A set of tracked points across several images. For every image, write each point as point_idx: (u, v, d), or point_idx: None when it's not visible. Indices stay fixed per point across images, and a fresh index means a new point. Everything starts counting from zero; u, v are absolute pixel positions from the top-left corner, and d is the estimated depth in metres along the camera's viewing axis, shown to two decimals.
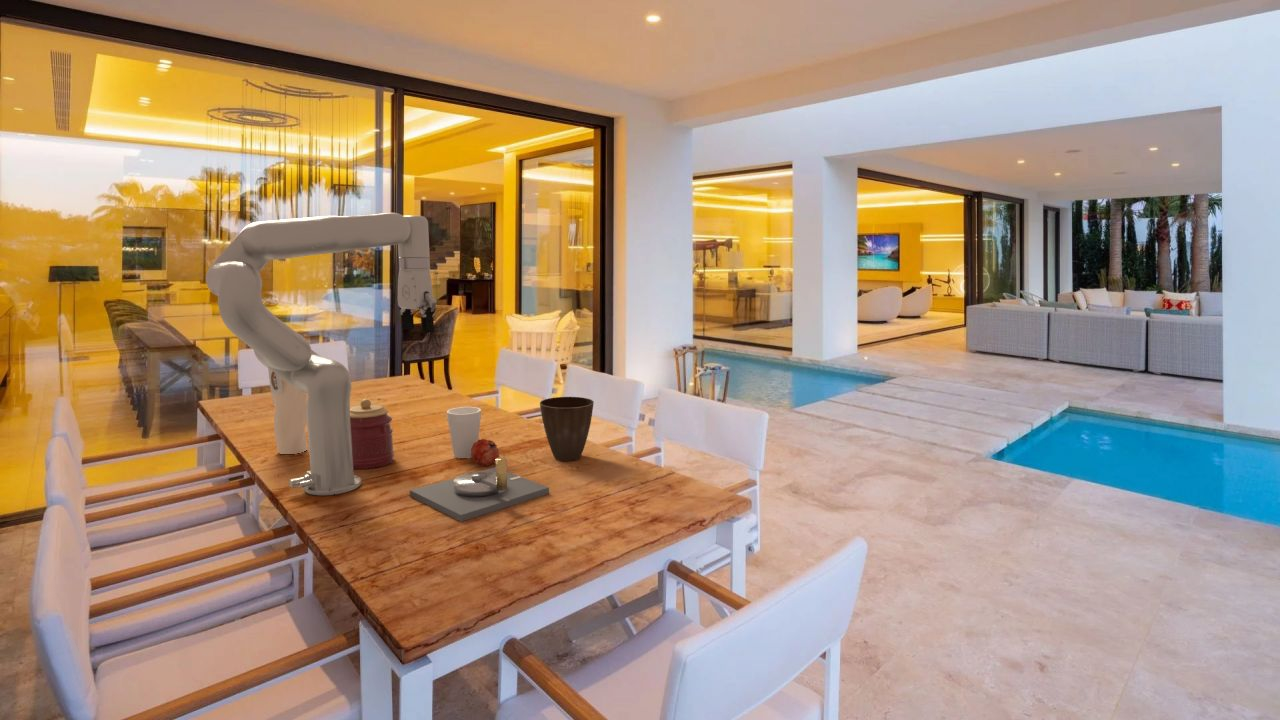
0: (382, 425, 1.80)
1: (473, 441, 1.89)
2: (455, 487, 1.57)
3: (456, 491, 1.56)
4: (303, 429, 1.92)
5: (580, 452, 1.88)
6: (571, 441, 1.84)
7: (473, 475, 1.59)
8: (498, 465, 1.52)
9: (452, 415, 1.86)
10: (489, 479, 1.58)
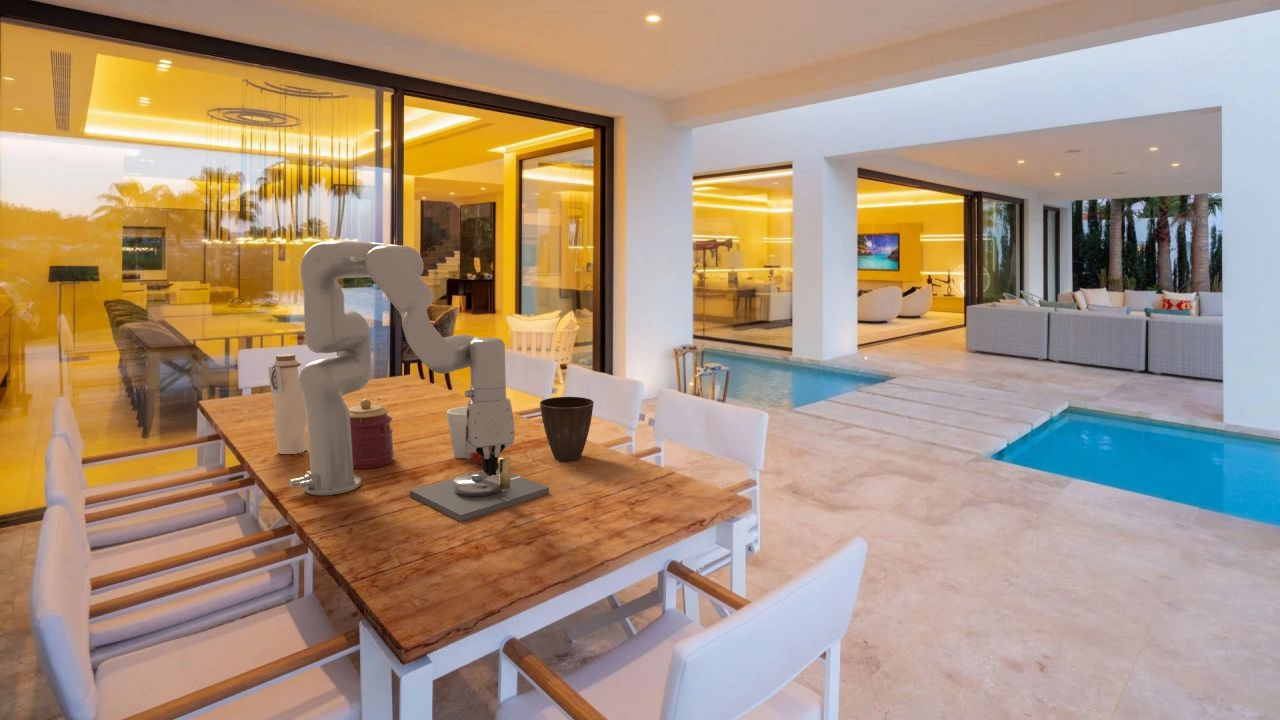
0: (382, 425, 1.80)
1: None
2: (456, 488, 1.56)
3: (457, 492, 1.56)
4: (303, 429, 1.92)
5: (580, 452, 1.88)
6: (571, 441, 1.84)
7: (473, 475, 1.59)
8: (502, 464, 1.52)
9: (452, 415, 1.86)
10: (490, 478, 1.58)
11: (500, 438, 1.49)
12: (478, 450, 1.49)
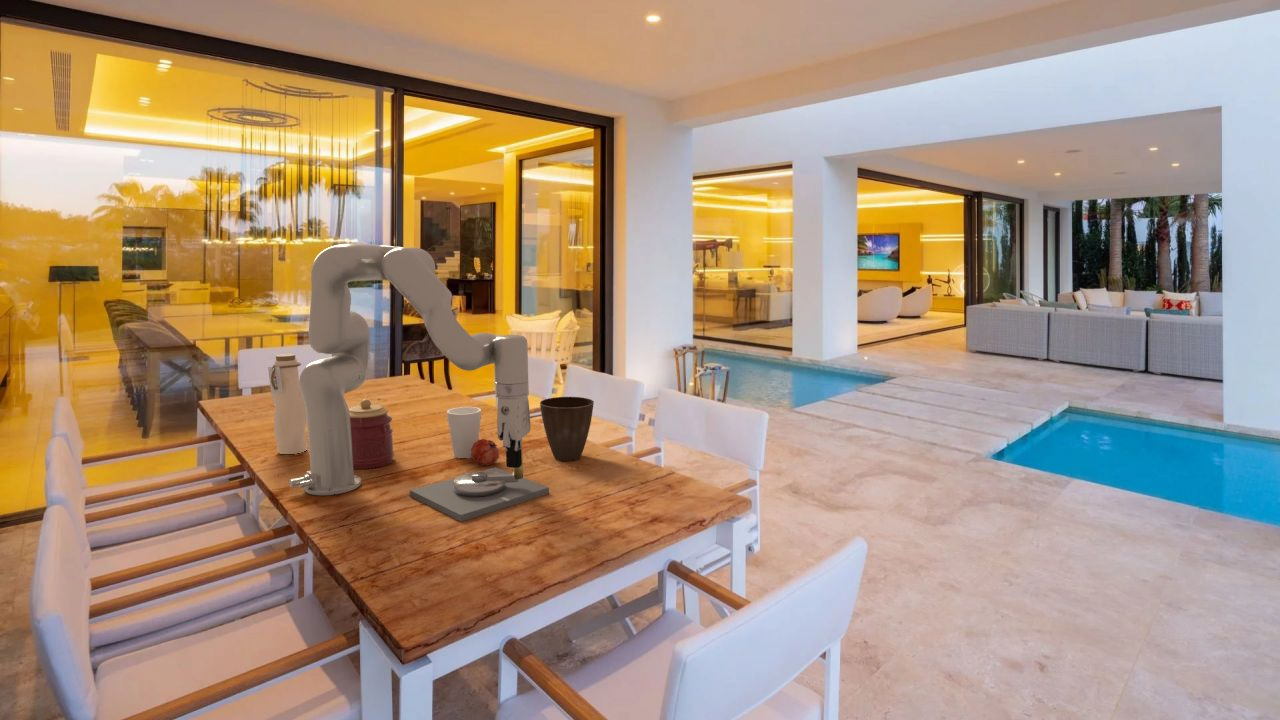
0: (382, 425, 1.80)
1: (473, 441, 1.89)
2: (473, 491, 1.54)
3: (475, 494, 1.54)
4: (303, 429, 1.92)
5: (580, 452, 1.88)
6: (571, 440, 1.84)
7: (477, 476, 1.58)
8: None
9: (452, 415, 1.86)
10: (494, 475, 1.61)
11: (526, 429, 1.57)
12: (512, 444, 1.53)
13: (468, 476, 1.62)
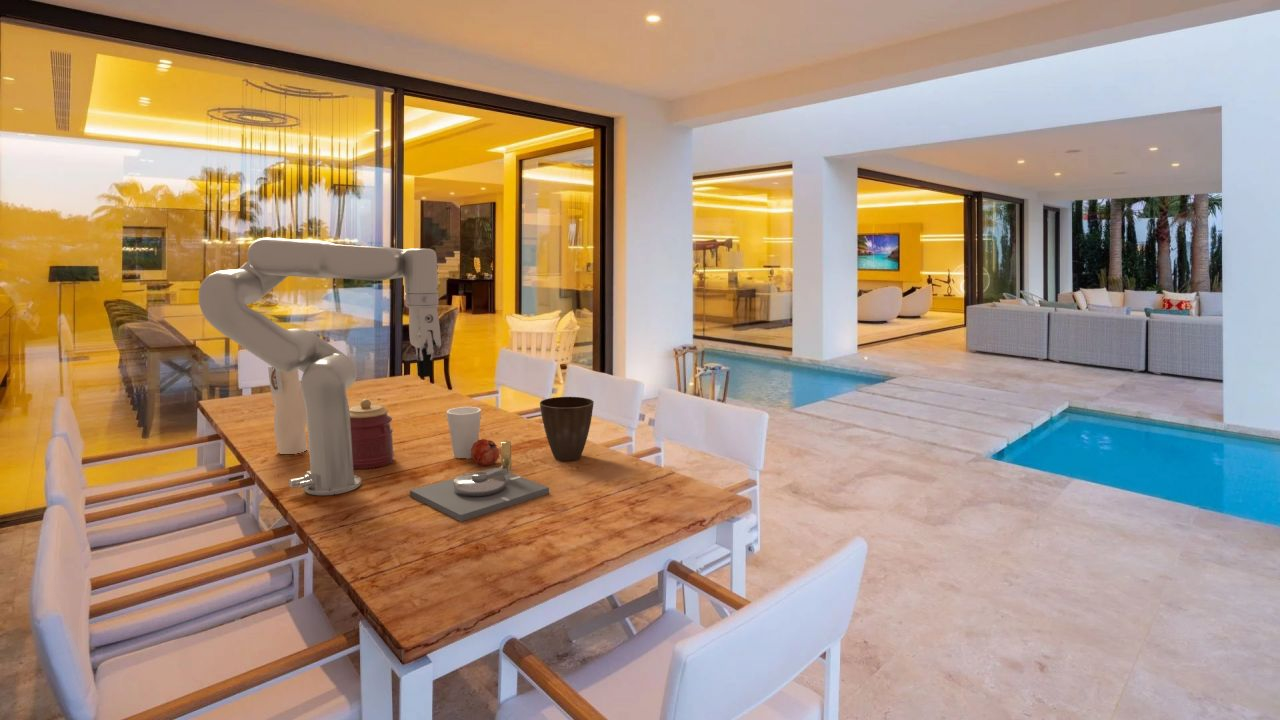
0: (382, 425, 1.80)
1: (473, 441, 1.89)
2: (494, 488, 1.56)
3: (496, 491, 1.57)
4: (303, 429, 1.92)
5: (580, 452, 1.88)
6: (571, 441, 1.84)
7: (482, 476, 1.59)
8: (510, 447, 1.66)
9: (452, 415, 1.86)
10: (489, 472, 1.63)
11: None
12: None
13: (462, 480, 1.59)
